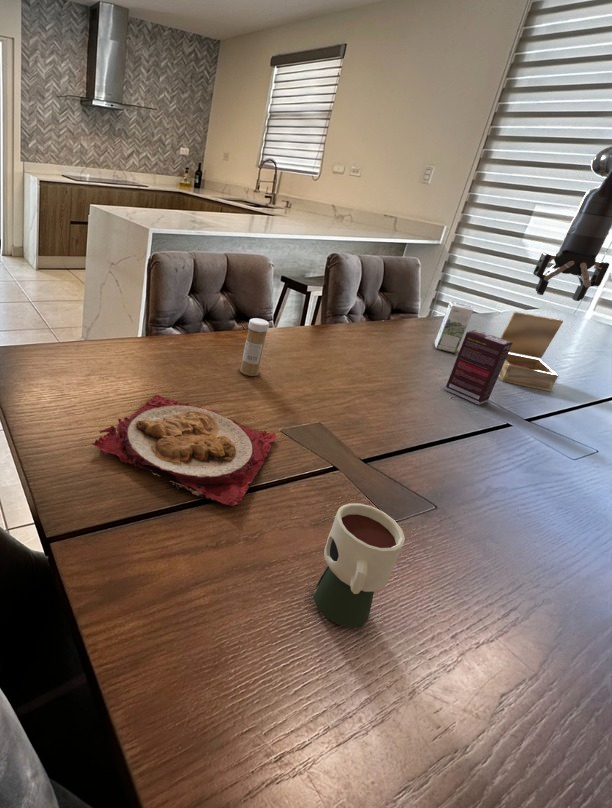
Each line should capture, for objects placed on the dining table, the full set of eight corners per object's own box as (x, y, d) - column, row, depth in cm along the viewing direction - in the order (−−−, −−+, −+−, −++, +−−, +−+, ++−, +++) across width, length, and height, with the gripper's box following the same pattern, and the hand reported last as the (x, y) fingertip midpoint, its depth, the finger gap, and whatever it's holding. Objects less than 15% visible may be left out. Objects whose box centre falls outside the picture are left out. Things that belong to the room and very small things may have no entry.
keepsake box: (550, 391, 125) (558, 375, 123) (502, 381, 128) (509, 365, 126) (533, 374, 135) (540, 359, 134) (488, 364, 138) (494, 350, 136)
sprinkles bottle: (260, 372, 115) (272, 321, 110) (254, 378, 111) (265, 326, 106) (243, 366, 117) (253, 316, 112) (236, 372, 113) (246, 320, 108)
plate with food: (235, 516, 69) (240, 498, 67) (90, 450, 78) (92, 432, 77) (275, 441, 89) (279, 426, 87) (156, 395, 98) (158, 381, 97)
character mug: (315, 562, 62) (341, 484, 57) (372, 587, 60) (404, 507, 55) (301, 631, 53) (330, 545, 48) (367, 663, 50) (406, 575, 45)
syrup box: (453, 348, 148) (470, 304, 143) (456, 354, 143) (473, 309, 138) (433, 343, 150) (450, 300, 145) (435, 349, 145) (452, 304, 140)
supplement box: (488, 401, 115) (514, 342, 108) (479, 406, 112) (505, 345, 106) (452, 386, 121) (475, 328, 115) (443, 389, 118) (466, 331, 112)
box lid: (563, 321, 127) (562, 320, 127) (515, 312, 129) (514, 311, 130) (541, 358, 133) (540, 356, 134) (495, 349, 136) (494, 347, 136)
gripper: (612, 236, 117) (582, 298, 123) (546, 227, 120) (520, 288, 126) (630, 240, 110) (597, 306, 116) (560, 230, 113) (531, 295, 120)
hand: (557, 297), depth 121 cm, fingers open, 7 cm apart
